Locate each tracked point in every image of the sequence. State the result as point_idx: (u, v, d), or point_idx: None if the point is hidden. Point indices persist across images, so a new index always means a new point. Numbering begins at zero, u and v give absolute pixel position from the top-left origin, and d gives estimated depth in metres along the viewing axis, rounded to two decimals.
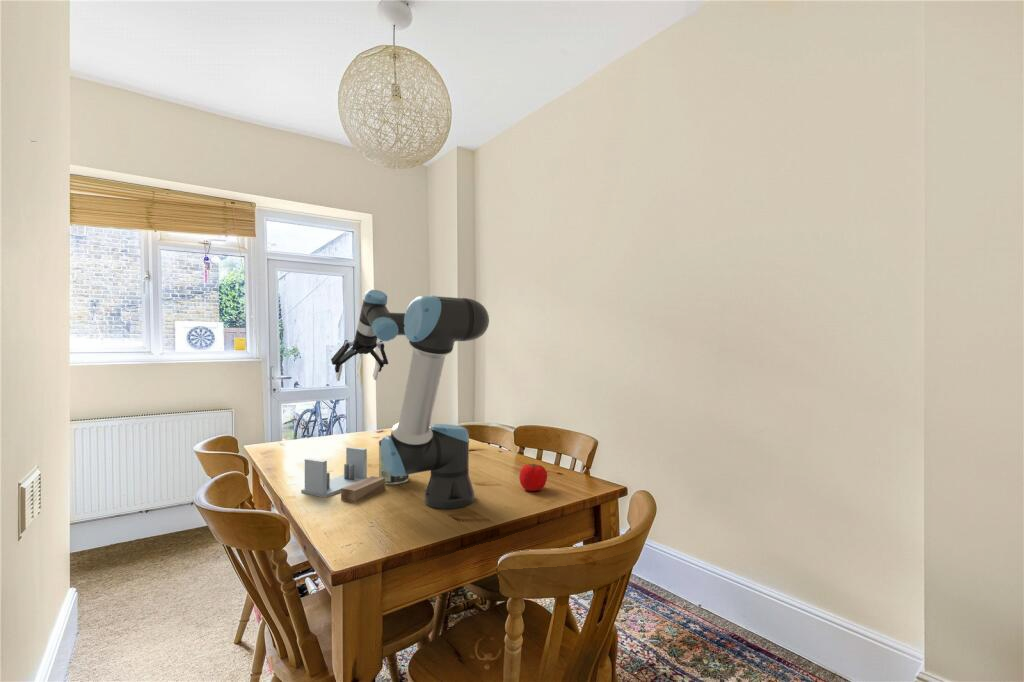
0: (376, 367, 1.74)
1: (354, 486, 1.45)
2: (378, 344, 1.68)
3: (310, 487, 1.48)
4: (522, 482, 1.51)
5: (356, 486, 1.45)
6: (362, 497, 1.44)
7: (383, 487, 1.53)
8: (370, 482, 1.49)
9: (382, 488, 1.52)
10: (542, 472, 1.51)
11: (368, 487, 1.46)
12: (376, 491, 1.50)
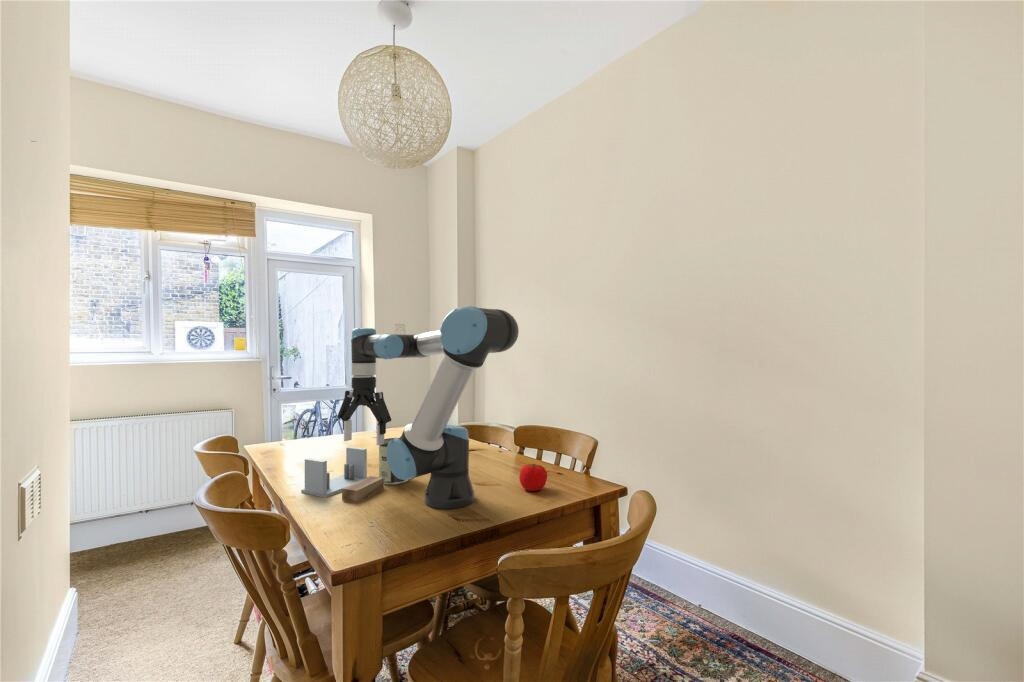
0: None
1: (355, 486, 1.45)
2: (374, 394, 1.46)
3: (310, 487, 1.48)
4: (522, 482, 1.51)
5: (357, 486, 1.45)
6: (363, 497, 1.44)
7: (382, 486, 1.53)
8: (370, 481, 1.49)
9: (381, 488, 1.53)
10: (542, 472, 1.51)
11: (368, 486, 1.46)
12: (376, 491, 1.50)
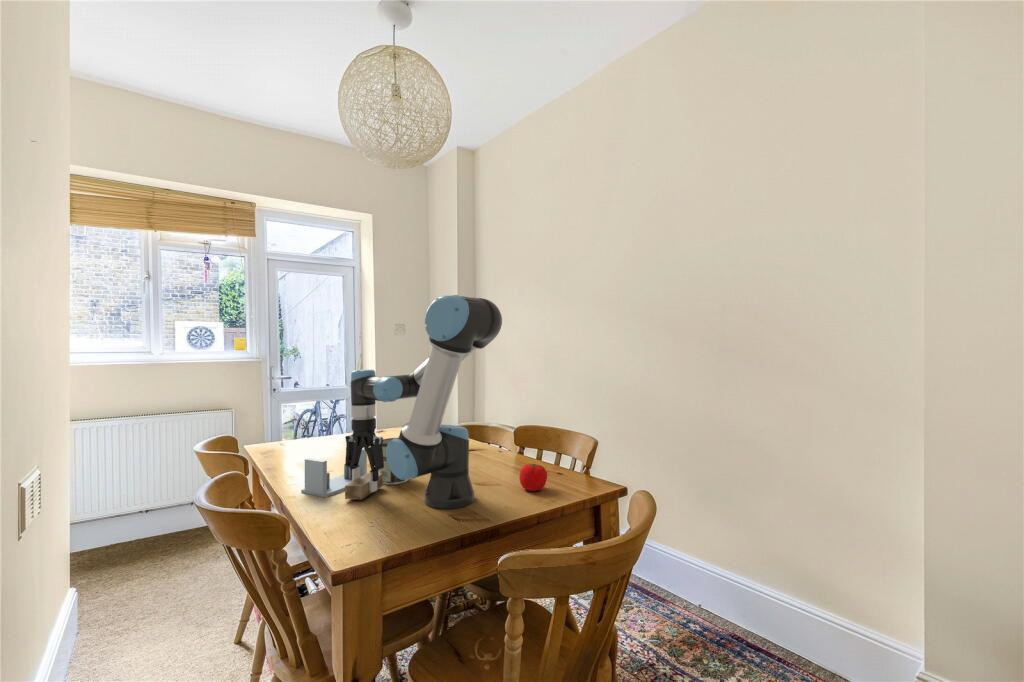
0: None
1: (357, 482, 1.44)
2: (375, 438, 1.46)
3: (310, 487, 1.48)
4: (522, 482, 1.51)
5: (359, 482, 1.44)
6: (367, 493, 1.44)
7: (381, 482, 1.53)
8: None
9: (381, 484, 1.53)
10: (542, 472, 1.51)
11: None
12: None
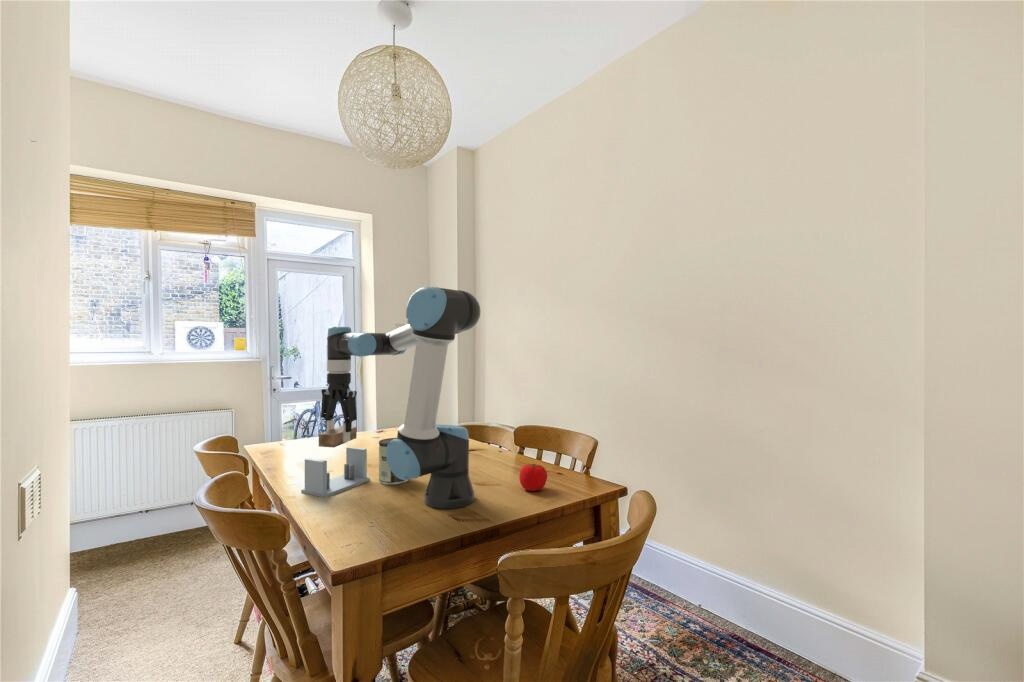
0: None
1: (331, 432, 1.52)
2: (349, 391, 1.53)
3: (310, 487, 1.48)
4: (522, 482, 1.51)
5: (333, 432, 1.53)
6: (339, 442, 1.52)
7: (355, 435, 1.62)
8: None
9: (354, 436, 1.61)
10: (542, 472, 1.51)
11: None
12: (350, 438, 1.58)
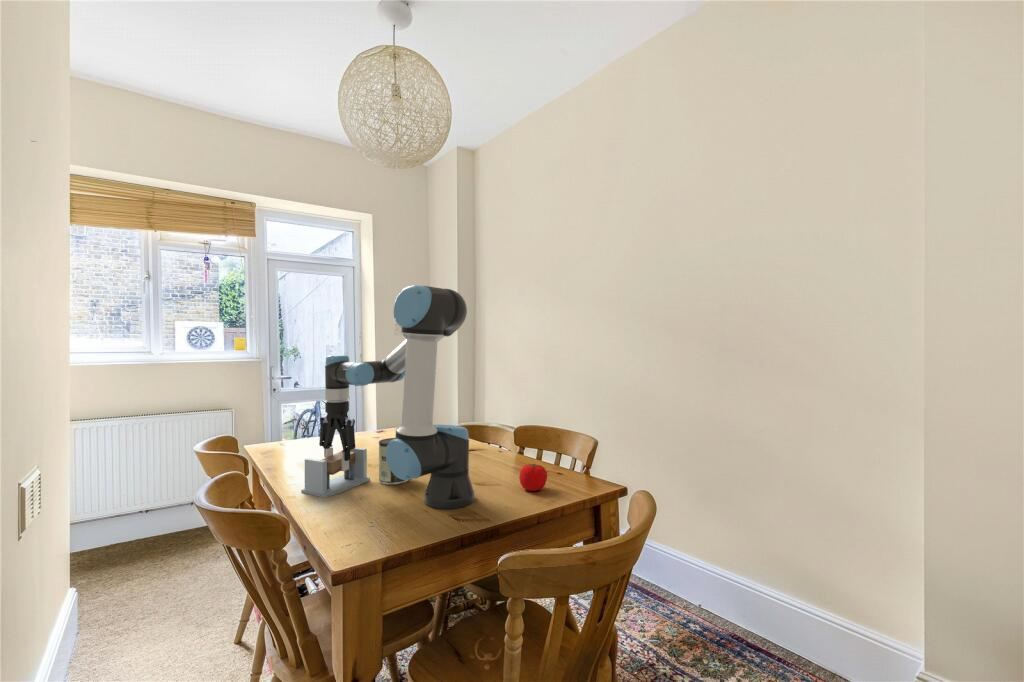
0: None
1: (329, 459, 1.53)
2: (347, 420, 1.54)
3: (310, 487, 1.48)
4: (522, 482, 1.51)
5: (331, 459, 1.53)
6: (338, 469, 1.52)
7: (354, 460, 1.62)
8: None
9: (353, 461, 1.62)
10: (542, 472, 1.51)
11: None
12: None
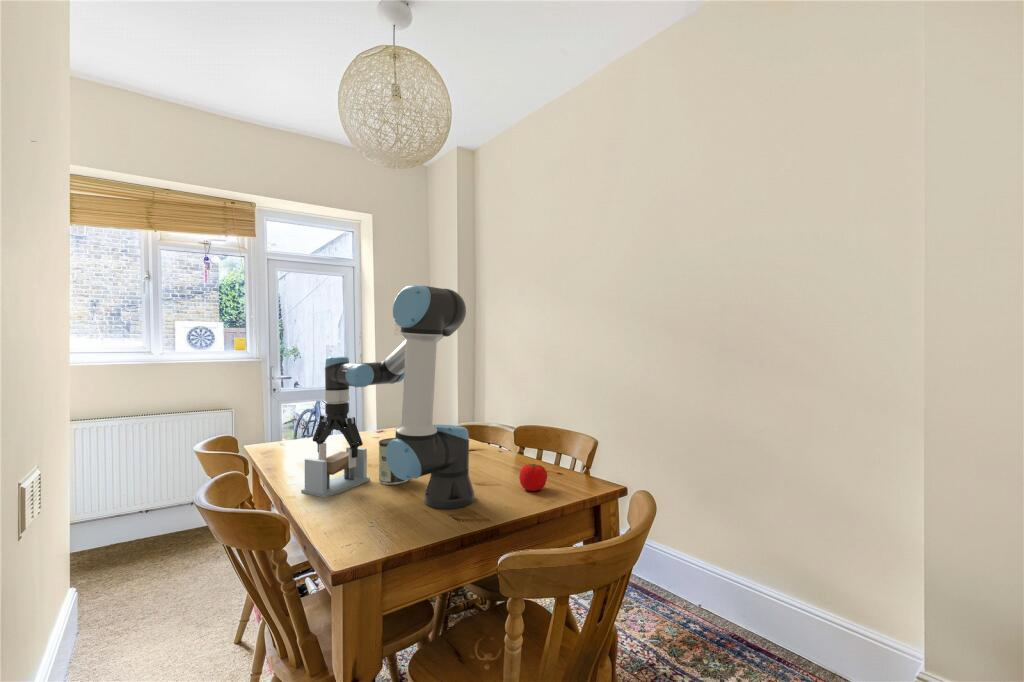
0: None
1: (329, 459, 1.53)
2: None
3: (310, 487, 1.48)
4: (522, 482, 1.51)
5: (331, 459, 1.53)
6: (338, 469, 1.52)
7: None
8: (343, 455, 1.58)
9: None
10: (542, 472, 1.51)
11: (342, 459, 1.55)
12: (348, 464, 1.59)
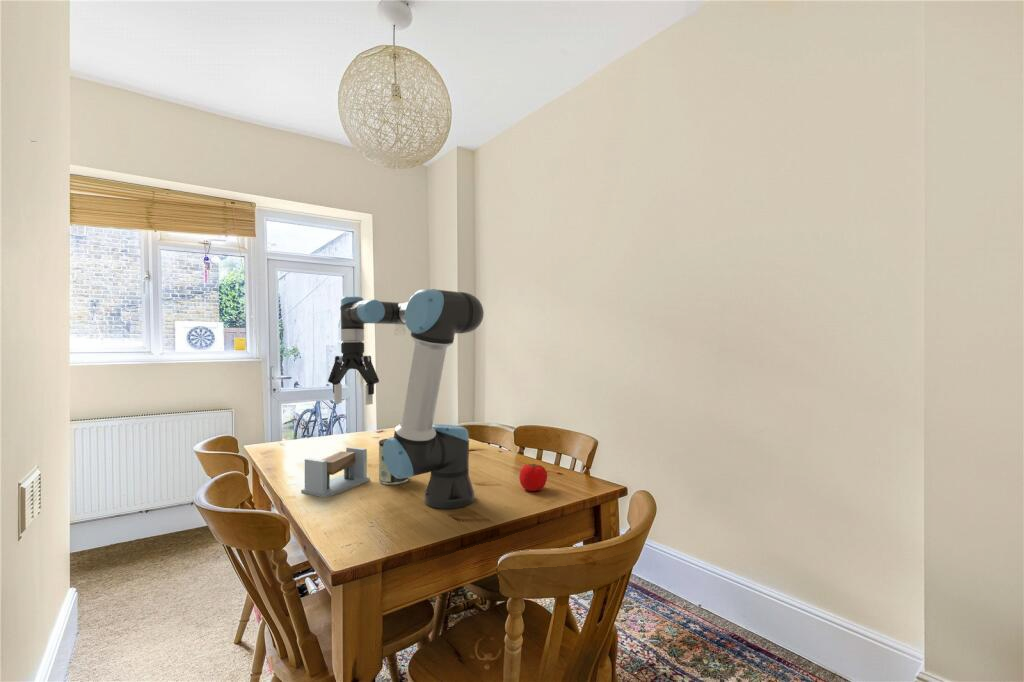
0: None
1: (329, 459, 1.53)
2: None
3: (310, 487, 1.48)
4: (522, 482, 1.51)
5: (331, 459, 1.53)
6: (338, 469, 1.52)
7: (354, 460, 1.62)
8: (343, 455, 1.58)
9: (353, 461, 1.62)
10: (542, 472, 1.51)
11: (342, 459, 1.55)
12: (348, 464, 1.59)
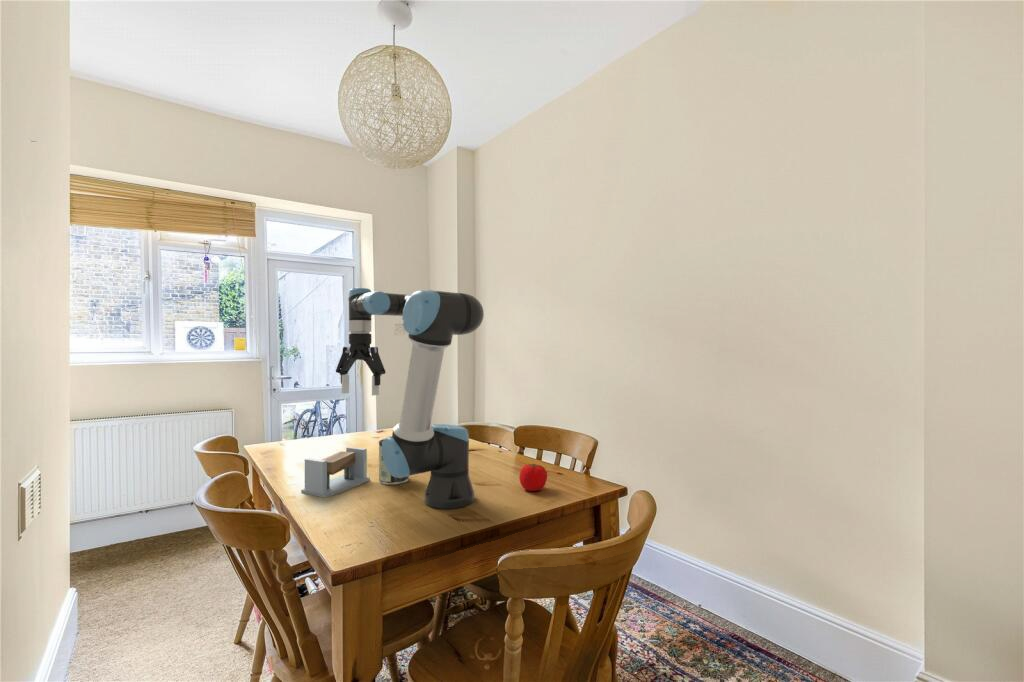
0: None
1: (329, 459, 1.53)
2: None
3: (310, 487, 1.48)
4: (522, 482, 1.51)
5: (331, 459, 1.53)
6: (338, 469, 1.52)
7: (354, 460, 1.62)
8: (343, 455, 1.58)
9: (353, 461, 1.62)
10: (542, 472, 1.51)
11: (342, 459, 1.55)
12: (348, 464, 1.59)
